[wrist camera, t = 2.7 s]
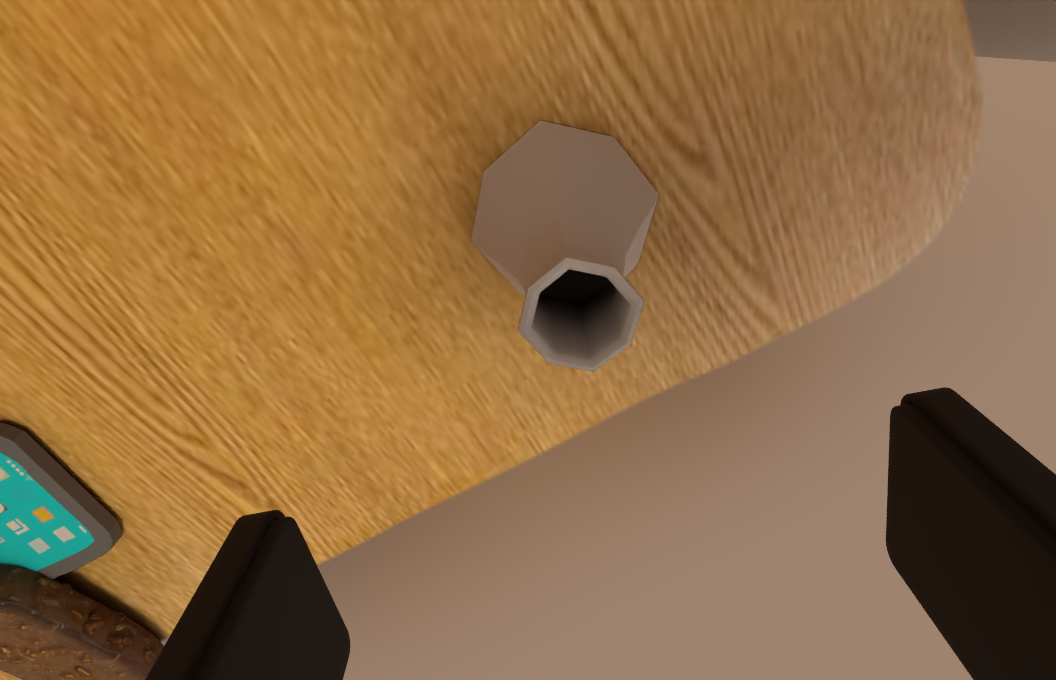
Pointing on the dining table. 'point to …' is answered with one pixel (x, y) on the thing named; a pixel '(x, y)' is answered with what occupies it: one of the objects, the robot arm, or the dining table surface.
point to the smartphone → (47, 511)
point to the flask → (568, 239)
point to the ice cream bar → (67, 633)
